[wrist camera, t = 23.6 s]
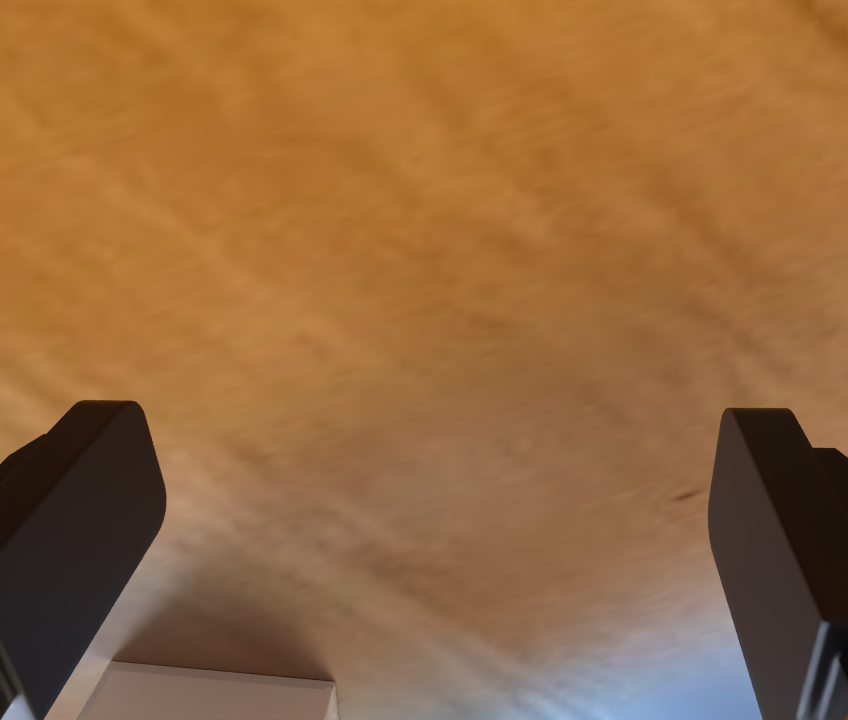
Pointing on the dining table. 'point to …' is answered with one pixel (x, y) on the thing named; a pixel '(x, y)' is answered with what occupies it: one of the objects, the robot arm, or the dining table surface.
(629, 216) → the dining table surface
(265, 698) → the butter dish
